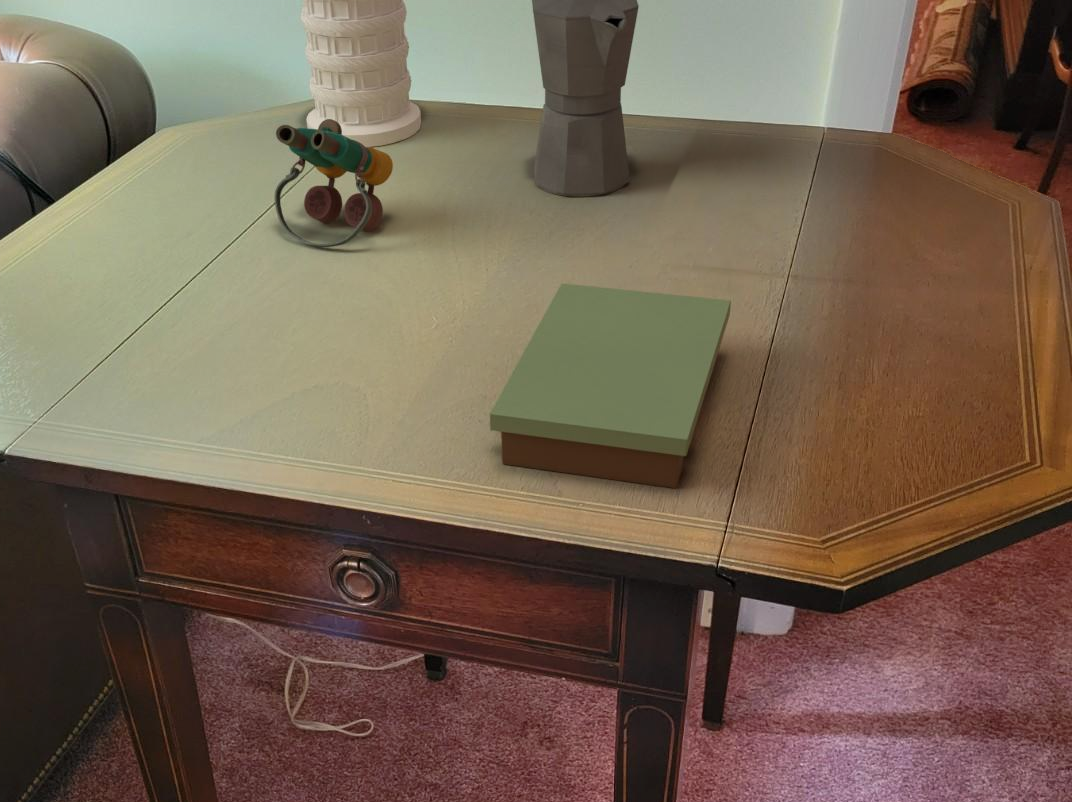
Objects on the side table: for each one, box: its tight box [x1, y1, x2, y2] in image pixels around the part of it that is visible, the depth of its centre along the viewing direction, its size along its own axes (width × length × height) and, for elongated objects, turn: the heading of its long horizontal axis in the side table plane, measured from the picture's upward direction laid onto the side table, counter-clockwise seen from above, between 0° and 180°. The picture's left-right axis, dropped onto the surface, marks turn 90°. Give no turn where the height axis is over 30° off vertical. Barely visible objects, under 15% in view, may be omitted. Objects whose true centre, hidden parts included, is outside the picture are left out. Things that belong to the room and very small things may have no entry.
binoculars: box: [273, 119, 394, 248], centre depth 101 cm, size 9×9×10 cm
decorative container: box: [300, 0, 422, 148], centre depth 118 cm, size 12×12×18 cm
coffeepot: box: [531, 0, 639, 198], centre depth 106 cm, size 15×9×18 cm, turn 22°
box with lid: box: [489, 283, 732, 489], centre depth 80 cm, size 12×18×4 cm, turn 163°
